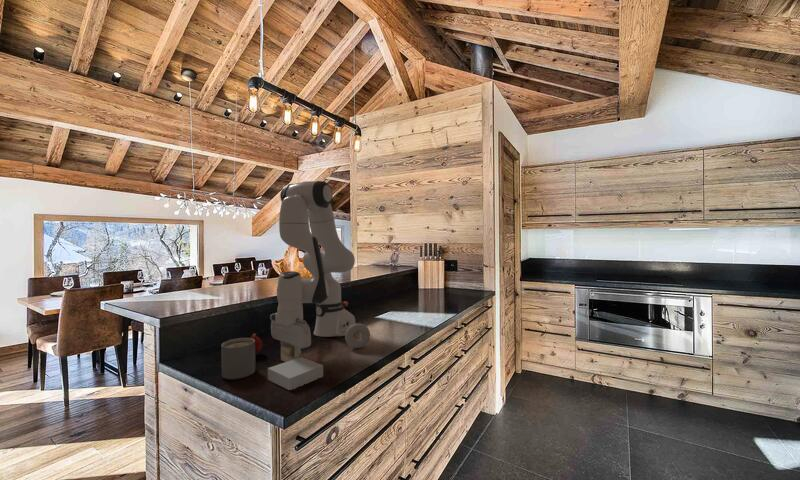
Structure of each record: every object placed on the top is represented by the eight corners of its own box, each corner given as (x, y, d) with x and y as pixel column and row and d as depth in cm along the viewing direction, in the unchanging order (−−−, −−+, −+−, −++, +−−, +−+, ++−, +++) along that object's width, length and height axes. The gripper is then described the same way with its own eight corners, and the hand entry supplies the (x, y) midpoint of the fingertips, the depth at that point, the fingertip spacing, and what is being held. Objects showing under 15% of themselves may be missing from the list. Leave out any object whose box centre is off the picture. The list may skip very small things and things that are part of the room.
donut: (345, 350, 126) (345, 325, 126) (344, 347, 130) (344, 323, 130) (370, 348, 129) (370, 323, 129) (369, 345, 132) (369, 321, 132)
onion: (256, 358, 119) (255, 336, 119) (242, 357, 120) (241, 336, 120) (265, 353, 125) (265, 332, 125) (252, 352, 126) (252, 331, 126)
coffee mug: (252, 377, 103) (252, 345, 103) (217, 381, 101) (217, 348, 101) (259, 361, 116) (259, 333, 116) (228, 364, 114) (228, 336, 114)
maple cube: (293, 356, 122) (292, 342, 122) (300, 359, 118) (300, 345, 118) (280, 360, 118) (280, 346, 118) (288, 363, 115) (288, 349, 114)
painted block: (300, 368, 111) (300, 356, 111) (323, 377, 103) (323, 365, 103) (267, 381, 102) (267, 368, 101) (289, 392, 94) (289, 378, 94)
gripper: (315, 319, 114) (315, 358, 114) (282, 311, 127) (283, 346, 127) (299, 323, 109) (300, 364, 109) (267, 314, 122) (268, 351, 122)
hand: (290, 354), depth 118 cm, fingers closed on maple cube, 5 cm apart
